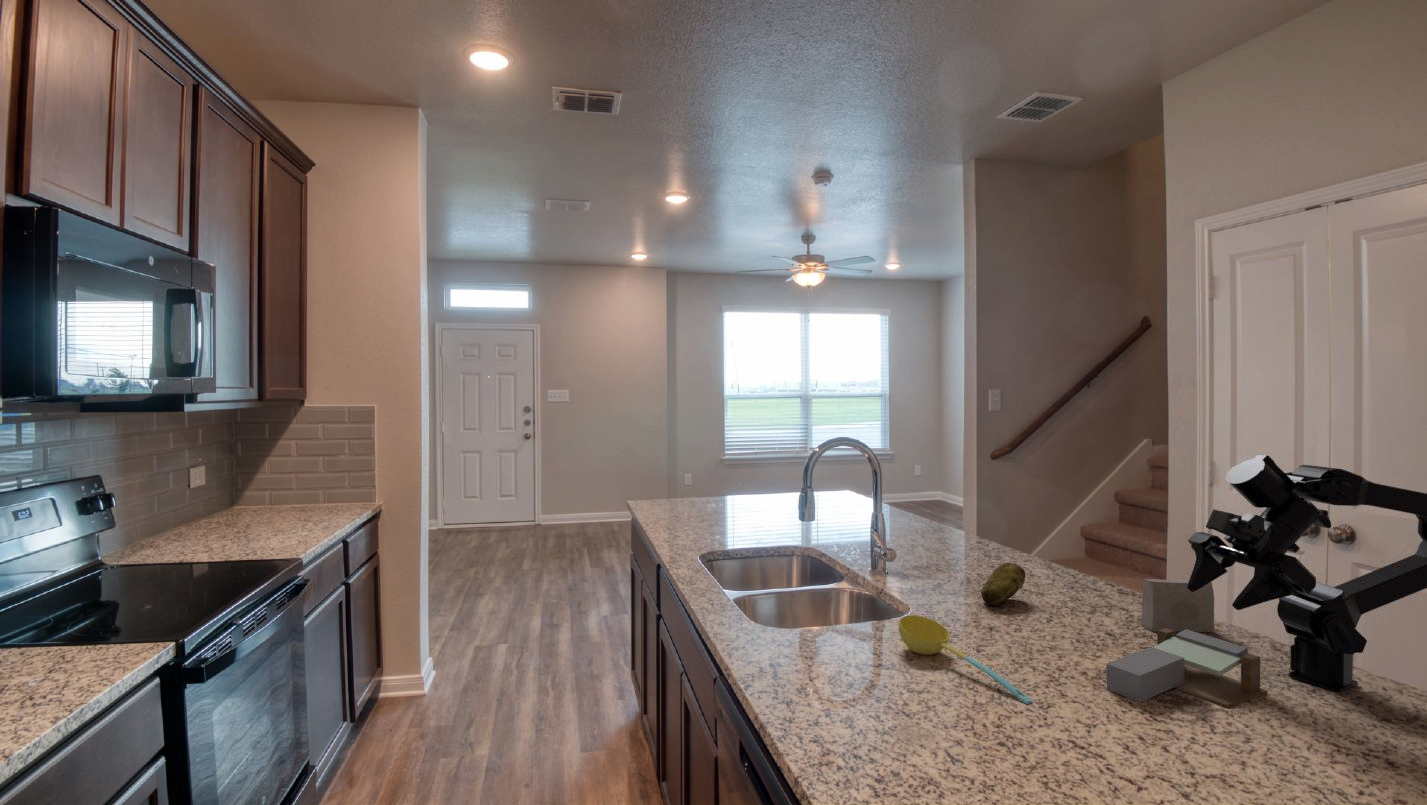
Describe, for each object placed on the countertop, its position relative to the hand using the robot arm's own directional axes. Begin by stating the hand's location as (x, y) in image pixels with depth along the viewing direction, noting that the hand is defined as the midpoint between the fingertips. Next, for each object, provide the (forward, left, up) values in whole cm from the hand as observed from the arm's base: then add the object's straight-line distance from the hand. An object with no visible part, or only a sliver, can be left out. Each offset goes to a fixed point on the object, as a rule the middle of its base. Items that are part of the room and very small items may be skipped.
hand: (1211, 598), depth 105 cm
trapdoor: (+1, 0, -10) cm, 10 cm away
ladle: (+20, +33, -14) cm, 41 cm away
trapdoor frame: (+1, +2, -13) cm, 14 cm away
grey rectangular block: (+3, +6, -11) cm, 13 cm away
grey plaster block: (+16, -20, -14) cm, 30 cm away
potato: (+43, -3, -14) cm, 46 cm away
